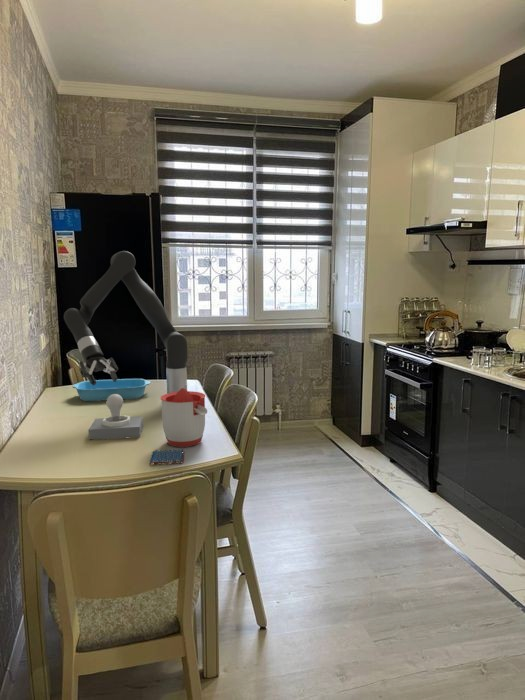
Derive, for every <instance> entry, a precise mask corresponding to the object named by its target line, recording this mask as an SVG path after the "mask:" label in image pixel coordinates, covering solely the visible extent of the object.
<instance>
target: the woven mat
mask: <svg viewBox="0 0 525 700" xmlns="http://www.w3.org/2000/svg"><path fill="white" fill-rule="evenodd" d="M182 452H184V449H169V450H167V449H164V450H162V449H161V450H155V451H152V453H151V456H150V459H149V465H150V464H151V465H150V466H154V465H155V464H157V465H159V464H161V465H162V463H165V464H166V463H169V464H171V462H172V463H175V464H176V463H178V464H180V463H181V462H182V463H184V457H185V452H184V453H182ZM153 463H154V465H153ZM169 464H168V465H169ZM171 465H172V464H171Z"/></svg>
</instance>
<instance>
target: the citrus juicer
mask: <svg viewBox="0 0 525 700" xmlns="http://www.w3.org/2000/svg"><path fill="white" fill-rule="evenodd" d="M205 398H206V394H205V393H202V392H200V391H193V390H189V391H188V389H187V390H186V389H185V388H181V389H180V390H179V391H178V392H172V393H168V394H167V393H164V394H163V395H161V396H160V400H161V418H162V419H161V423H162V428H163V432H164V435H165V439H166V442H167V444H168V445H170V446H173V447H180V448H187V447H186V446H188V447H193V446H195V445H198V444H200V443H201V442H202V439H203V436H204V432H205V427H206V415H207V413H208V409H207V408H206V403H205V402H206V399H205ZM192 445H193V446H192Z"/></svg>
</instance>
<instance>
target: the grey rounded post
mask: <svg viewBox="0 0 525 700" xmlns="http://www.w3.org/2000/svg"><path fill="white" fill-rule="evenodd" d="M105 402H106V406H107V407H108V408H107V409H109V411H110V416H112V420H113V422H118V421H119V420H120V415H121V410H122V408H123V405H124V400H123V398H122V397H121V396H120V395H118V394H112V395H110V396H109V397H108V398H107V401H105Z"/></svg>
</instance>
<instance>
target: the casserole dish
mask: <svg viewBox="0 0 525 700" xmlns="http://www.w3.org/2000/svg"><path fill="white" fill-rule="evenodd" d="M95 380H96V384H95V385H92V384H91V383H90V381H89V380H84V381H81V382H80V381H79V382H78V383H75V384H73V385H72V388H73V389H76V392H77V394H78V397H79V399H80V400H82V401H83V402H102V401H101V400H107V398H108V397H109V396H110V395H112V394H118V395H120V396H121V397H122V398H123V399H128V400H135V399H136V398H137V399H140V398H141V397H143V396H144V395H145V391H146V386H150V385H151V381H150V380H146V379H144V378H121V379H120V378H117V380H116V382H113V380H112V379H98V380H97V379H95ZM137 399H136V400H137Z"/></svg>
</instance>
